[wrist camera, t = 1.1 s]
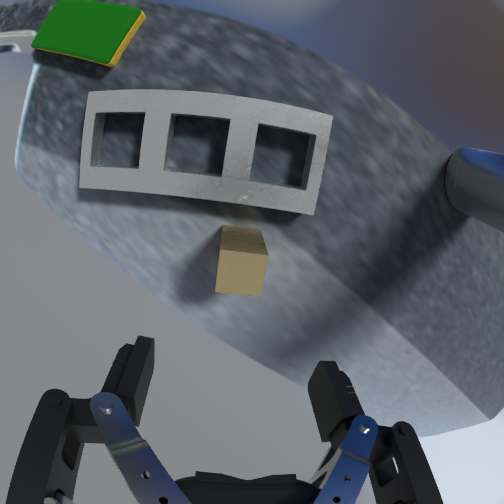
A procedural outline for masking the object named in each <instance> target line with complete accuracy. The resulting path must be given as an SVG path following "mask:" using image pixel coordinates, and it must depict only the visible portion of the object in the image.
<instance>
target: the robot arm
mask: <svg viewBox="0 0 504 504" xmlns="http://www.w3.org/2000/svg"><path fill="white" fill-rule="evenodd" d="M445 187H446V193H447V197H448V199H449V201H450V203H451V205H452V206H453V207H454V208H455V209H456V210H458V211H460V212H462V213H465V214H467V215H469V216H471V217H473V218H475V219H477V220H479V221H482V222H484V223H486V224H488V225H490V226H492V227H494V228H496V229H498V230H500V231H502V232H504V154H499V153H495V152H489V151H485V150H479V149H472V148H467V147H463V148H460V149H458V150H456V151H455V152H454V153H453V155H452V156H451V158H450V160H449V162H448V165H447V169H446V175H445ZM153 369H154V339H153V338H149V337H144V336H138V338H137V340H136V342H135V345H131V344H127V343H126V344H125V345H124V346H123V347H122V348H120V349H119V351H118V353H117V355H116V358H115V360H114V362H113V365H112V367H111V369H110V371H109V374H108V376H107V378H106V381H105V383H104V386H103V388H102V390H101V392H100V393H98V394H96V395H94V396H93V397H92V398H89V399H76V398H70V397H69V396H68V394H67V393H66V392H64V391H62V390H59V389H51V390H48V391H46V392H45V393H44V394H43V395H42V397H41V399H40V401H39V404H38V406H37V408H36V411H35V413H34V415H33V418H32V421H31V423H30V425H29V428H28V431H27V433H26V436H25V439H24V441H23V444H22V447H21V450H20V453H19V456H18V459H17V462H16V465H15V469H14V472H13V476H12V479H11V483H10V487H9V491H8V496H7V500H6V504H75V503H74V502H73V501H72V500H73V494H74V488H75V483H76V478H77V473H78V469H79V464H80V460H81V455H82V451H83V447H84V443H105V445H106V447H107V449H108V451H109V453H110V455H111V457H112V459H113V461H114V463H115V465H116V466H117V468H118V470H119V472H120V474H121V476H122V477H123V479H124V481H125V482H126V484H127V486H128V487H129V489H130V491H131V492H132V494H133V495H134V497H135V498H136V500H137V501H138V503H139V504H355V502H356V499H357V497H358V495H359V493H360V491H361V488H362V486H363V484H364V481H365V479H366V476H367V474H368V473H369V477H370V480H371V484H372V488H373V492H374V495H375V500H376V503H377V504H443V501H442V499H441V495H440V492H439V490H438V487H437V484H436V482H435V479H434V477H433V474H432V471H431V469H430V466H429V464H428V461H427V459H426V456H425V454H424V451H423V449H422V447H421V444H420V442H419V440H418V437H417V435H416V433H415V430H414V428H413V427H412V426H411V425H410V424H409V423H407V422H404V421H399V422H397V423H395V424H394V425H393V426H392V427H387V426H380V425H378V424H377V422H376V421H375V420H374V419H373V418H371V417H369V416H366V415H365V414H364V411H363V409H362V407H361V404H360V402H359V400H358V397H357V395H356V393H355V390H354V388H353V387H352V383H351V381H350V379H349V377H348V376H347V375H346V374H345V373H344V372H343V371H339V369H338V366H337V364H336V362H335V361H319V363H318V364H317V366H316V368H315V370H314V372H313V374H312V376H311V378H310V380H309V383H308V392H309V397H310V400H311V404H312V407H313V411H314V414H315V418H316V422H317V425H318V429H319V433H320V437H321V440H322V442H331V446H330V447H329V449H328V451H327V452H326V454H325V456H324V458H323V460H322V461H321V463H320V465H319V467H318V468H317V470H316V472H315V473H314V475H313V476H312V477H311V478H310V479H309V481H308V482H305V481H301V480H297V479H296V474H286V475H271V476H267V477H263V478H258V479H253V480H243V479H239V478H236V477H232V476H228V475H224V474H218V473H208V472H199V471H196V474H195V476H191V477H185V478H181V479H178V480H176V481H174V480H173V479H172V478H171V476H170V475H169V474H168V472H167V471H166V470H165V468H164V466H163V465H162V464H161V462H160V461H159V459H158V458H157V456H156V455H155V453H154V452H153V450H152V449H151V447H150V446H149V444H148V443H147V442H146V440H143V439H142V437H141V436H140V434H139V432H138V430H137V429H136V427H135V426H137V427H139V424H140V420H141V415H142V411H143V407H144V404H145V400H146V396H147V392H148V388H149V385H150V381H151V377H152V374H153ZM393 457H394V458H395V461H396V464H397V467H398V473H397V470H396V467H395V464H394V461H393V459H392V458H393Z"/></svg>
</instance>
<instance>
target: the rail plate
mask: <svg viewBox="0 0 504 504" xmlns="http://www.w3.org/2000/svg"><path fill="white" fill-rule="evenodd" d="M106 114H145V120H144V127H143V134H142V142H141V151H140V160H139V166H130V165H111V164H101V152H102V142H103V133H104V125H105V118H106ZM176 116H187V117H199V118H209V119H218V120H226V121H230V127H229V133H228V140H227V146H226V152H225V159H224V165H223V172H222V174H216V173H207V172H199V171H190V170H180V169H169V167H170V158H171V150H172V143H173V136H174V129H175V122H176ZM332 119H333V116H331V115H327V114H324V113H320V112H316V111H312V110H308V109H304V108H300V107H295V106H291V105H286V104H281V103H276V102H271V101H265V100H260V99H254V98H247V97H240V96H233V95H225V94H216V93H207V92H195V91H179V90H109V91H95V92H89V95H88V100H87V107H86V113H85V120H84V128H83V137H82V148H81V161H80V183H79V188H91V189H106V190H119V191H131V192H142V193H152V194H162V195H172V196H181V197H190V198H199V199H207V200H215V201H223V202H230V203H237V204H245V205H252V206H259V207H265V208H272V209H278V210H285V211H291V212H297V213H303V214H309V215H314V210H315V206H316V201H317V197H318V192H319V187H320V182H321V177H322V172H323V167H324V162H325V157H326V152H327V147H328V141H329V136H330V130H331V124H332ZM258 125H260V126H265V127H271V128H276V129H282V130H287V131H291V132H296V133H301V134H305V135H310V136H309V142H308V147H307V153H306V158H305V163H304V169H303V174H302V179H301V184H300V187H299V186H294V185H288V184H282V183H277V182H271V181H265V180H258V179H252V178H249V177H250V171H251V165H252V159H253V153H254V147H255V141H256V135H257V129H258Z"/></svg>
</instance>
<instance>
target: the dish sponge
mask: <svg viewBox="0 0 504 504" xmlns="http://www.w3.org/2000/svg"><path fill="white" fill-rule="evenodd" d="M145 18H146V17H145V14H144V13H143V12H142V11H141V9H140V8H135V7H130V6H124V5H119V4H112V3H105V2H97V1H87V0H59V1H58V2H57V3H56V4H55V6H54V7H53V9H52V10H51V12H50V13H49V15H48V17H47V18H46V20H45V21H44V23H43V25H42V26H41V28H40V30H39V31H38V33H37V35H36V37H35V39H34V40H33V42H32V44H31V46H32V47H33V48H36V49H39V50H44V51H49V52H54V53H59V54H63V55H68V56H72V57H76V58H80V59H84V60H88V61H91V62H95V63H99V64H102V65H105V66H109V67H113V66H115V65H116V63H117V62H118V60H119V58H120V56H121V55H122V53H123V51H124V50H125V48H126V47H127V45H128V43H129V42H130V40H131V39H132V37H133V36H134V34H135V33H136V31H137V30H138V28H139V27H140V25H141V24H142V22H143V21H144V20H145Z"/></svg>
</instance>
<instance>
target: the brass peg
mask: <svg viewBox="0 0 504 504" xmlns="http://www.w3.org/2000/svg"><path fill="white" fill-rule="evenodd" d="M268 256H269V255H268V252H267V249H266V245H265V242H264V239H263V236H262V233H261V230H259V229H251V228H244V227H236V226H229V225H223V228H222V236H221V243H220V251H219V259H218V268H217V278H216V288H215V292H221V293H230V294H239V295H248V296H257V297H260V295H261V291H262V286H263V281H264V276H265V271H266V266H267V261H268Z"/></svg>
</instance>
